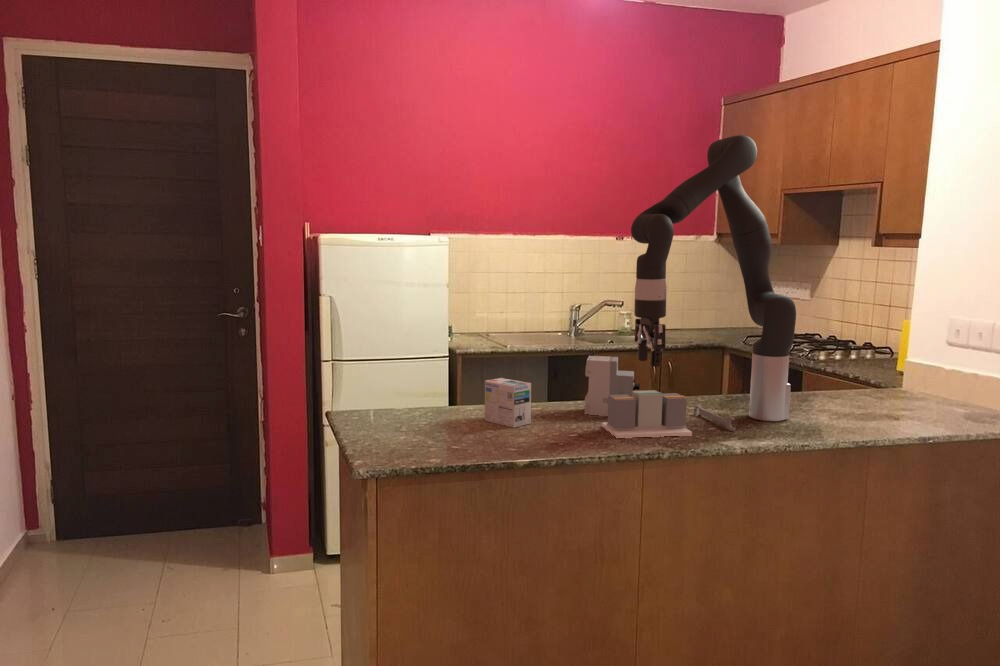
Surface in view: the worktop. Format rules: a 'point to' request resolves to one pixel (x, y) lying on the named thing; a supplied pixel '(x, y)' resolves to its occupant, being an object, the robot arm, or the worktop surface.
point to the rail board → (624, 427)
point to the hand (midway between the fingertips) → (648, 363)
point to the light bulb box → (508, 402)
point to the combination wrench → (715, 417)
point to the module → (648, 408)
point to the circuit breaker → (606, 383)
